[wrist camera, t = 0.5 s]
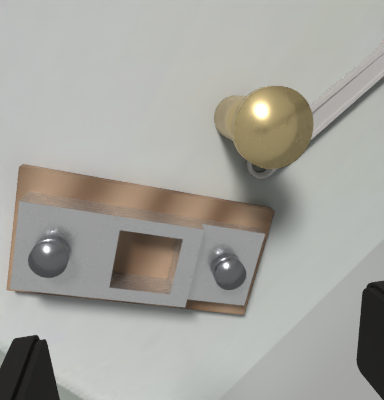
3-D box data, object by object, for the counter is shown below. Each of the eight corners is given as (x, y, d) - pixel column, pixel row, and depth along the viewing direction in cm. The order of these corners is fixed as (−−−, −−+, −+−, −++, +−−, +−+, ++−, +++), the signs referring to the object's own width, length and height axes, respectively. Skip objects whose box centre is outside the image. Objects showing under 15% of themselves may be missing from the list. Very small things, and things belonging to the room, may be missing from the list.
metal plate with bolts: (259, 228, 37) (278, 248, 32) (239, 297, 39) (254, 325, 34) (29, 191, 32) (12, 208, 27) (19, 272, 34) (3, 300, 29)
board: (270, 207, 38) (274, 211, 36) (240, 308, 41) (244, 314, 40) (22, 164, 32) (19, 167, 31) (10, 283, 35) (6, 290, 34)
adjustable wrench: (254, 181, 37) (260, 186, 35) (219, 130, 35) (224, 132, 33) (461, 29, 36) (477, 27, 34) (437, -33, 34) (453, -39, 32)
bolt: (270, 94, 34) (324, 96, 25) (254, 152, 36) (299, 175, 26) (213, 80, 33) (247, 77, 24) (199, 141, 34) (226, 161, 25)
